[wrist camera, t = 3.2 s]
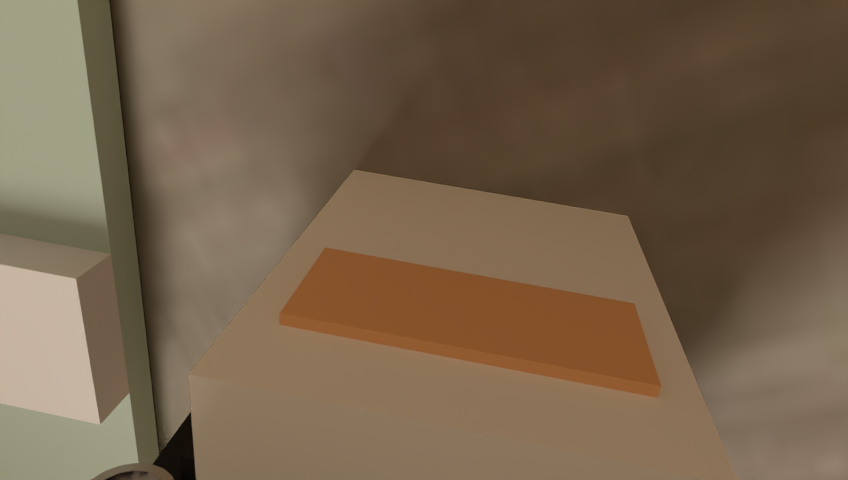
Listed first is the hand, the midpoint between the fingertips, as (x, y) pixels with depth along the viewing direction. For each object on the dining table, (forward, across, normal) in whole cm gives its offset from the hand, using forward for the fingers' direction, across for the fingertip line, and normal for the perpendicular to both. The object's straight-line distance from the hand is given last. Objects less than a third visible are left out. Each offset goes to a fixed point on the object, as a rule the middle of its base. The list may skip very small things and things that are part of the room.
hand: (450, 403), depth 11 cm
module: (+1, 0, 0) cm, 1 cm away
